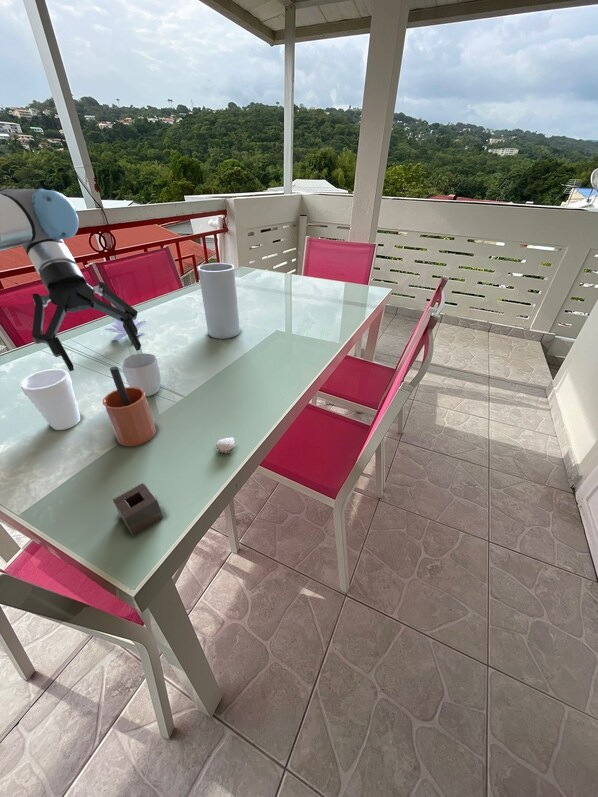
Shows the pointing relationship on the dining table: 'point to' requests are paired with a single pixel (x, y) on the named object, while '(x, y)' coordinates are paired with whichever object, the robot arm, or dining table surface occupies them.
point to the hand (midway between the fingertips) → (107, 357)
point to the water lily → (121, 330)
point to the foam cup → (53, 397)
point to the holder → (138, 508)
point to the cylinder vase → (220, 299)
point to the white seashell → (225, 445)
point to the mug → (142, 372)
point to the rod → (120, 386)
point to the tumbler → (130, 417)
